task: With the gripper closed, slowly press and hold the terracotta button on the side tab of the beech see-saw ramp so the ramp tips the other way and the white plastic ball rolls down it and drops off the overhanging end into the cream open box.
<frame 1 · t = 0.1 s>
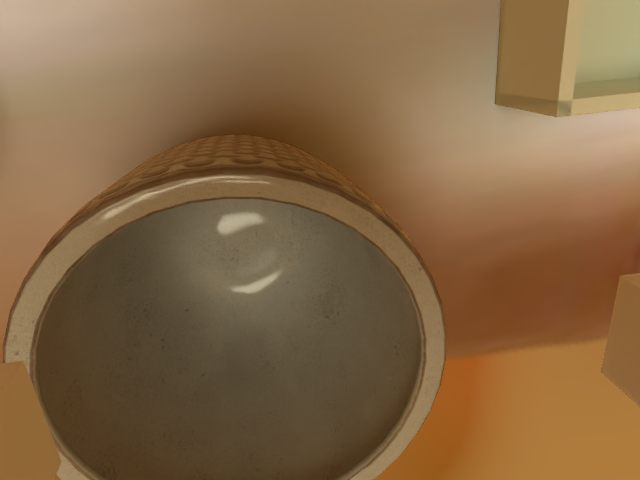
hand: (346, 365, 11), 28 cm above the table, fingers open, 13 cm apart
cream open box: (581, 0, 36), on the table
planter: (241, 230, 39), on the table
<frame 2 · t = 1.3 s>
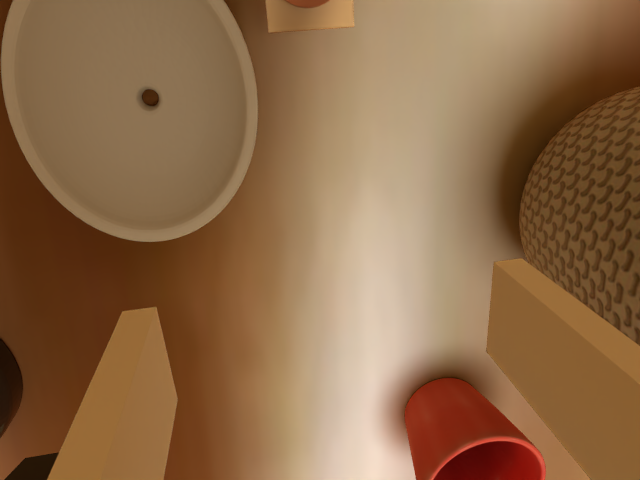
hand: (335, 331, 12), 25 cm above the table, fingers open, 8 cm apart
flower pot: (439, 406, 48), on the table
dish: (151, 97, 33), on the table
planter: (580, 184, 41), on the table
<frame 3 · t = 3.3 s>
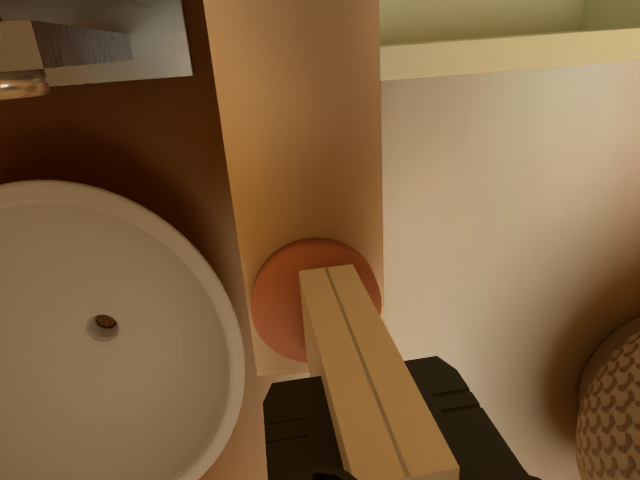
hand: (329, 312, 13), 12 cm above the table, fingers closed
dish: (108, 316, 25), on the table
lever: (10, 75, 11), point 10 cm above the table, hinge at -5.7°, touching ball, gripper
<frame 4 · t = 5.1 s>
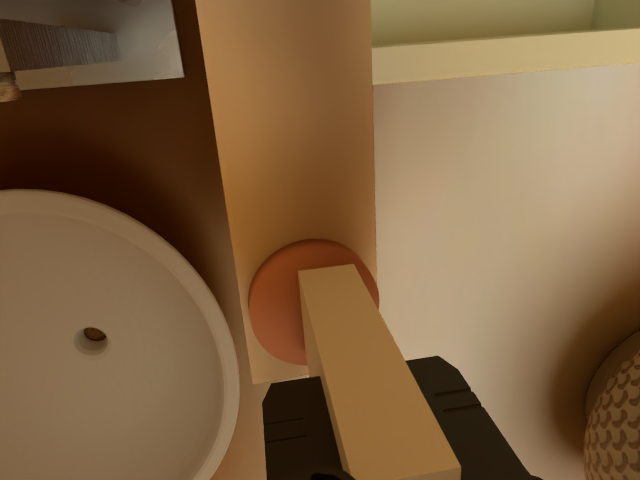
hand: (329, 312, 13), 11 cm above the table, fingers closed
dish: (97, 328, 24), on the table
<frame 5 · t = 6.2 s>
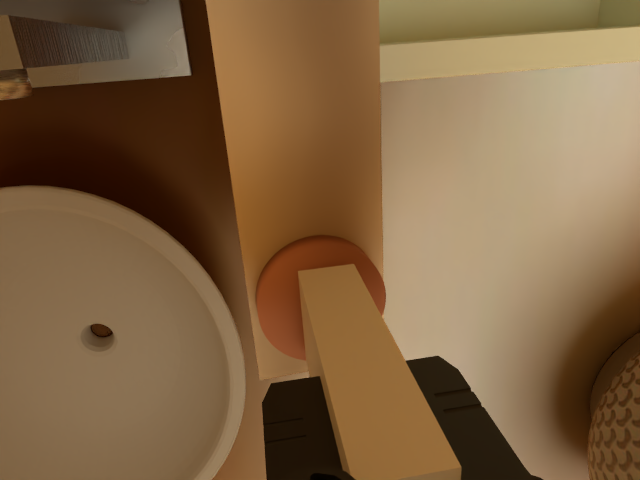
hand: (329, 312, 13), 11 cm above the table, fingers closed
dish: (104, 324, 24), on the table
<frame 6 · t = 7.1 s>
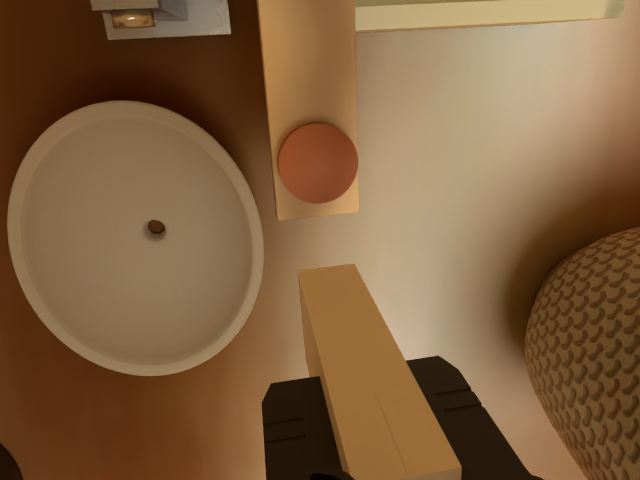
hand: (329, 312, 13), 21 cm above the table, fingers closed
dish: (157, 224, 33), on the table
planter: (587, 296, 40), on the table
lever: (132, 13, 19), point 10 cm above the table, hinge at 2.8°
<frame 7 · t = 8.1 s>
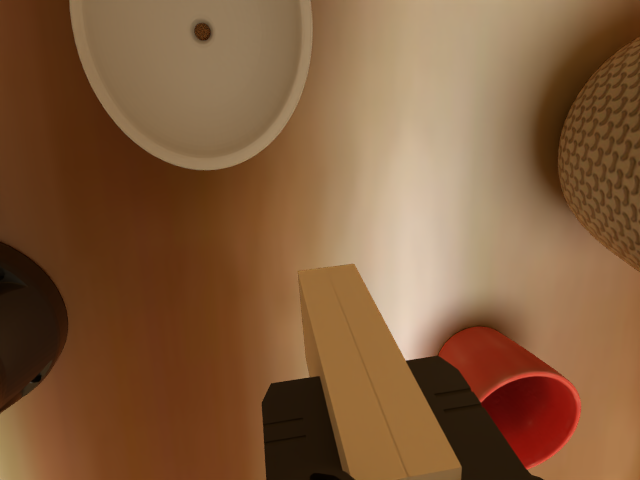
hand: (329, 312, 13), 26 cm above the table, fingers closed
flower pot: (469, 356, 48), on the table
dish: (202, 31, 33), on the table
planter: (613, 130, 41), on the table
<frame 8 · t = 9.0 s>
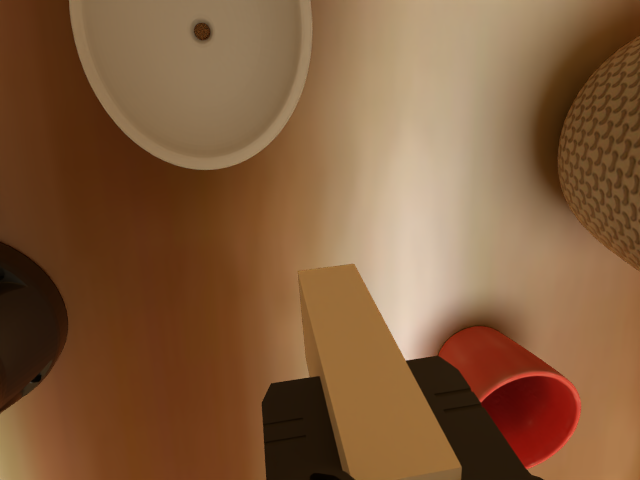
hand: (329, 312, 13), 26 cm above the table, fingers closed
flower pot: (469, 356, 48), on the table
dish: (202, 31, 33), on the table
planter: (613, 129, 41), on the table
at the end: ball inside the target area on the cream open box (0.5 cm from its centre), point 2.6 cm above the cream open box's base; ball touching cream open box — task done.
